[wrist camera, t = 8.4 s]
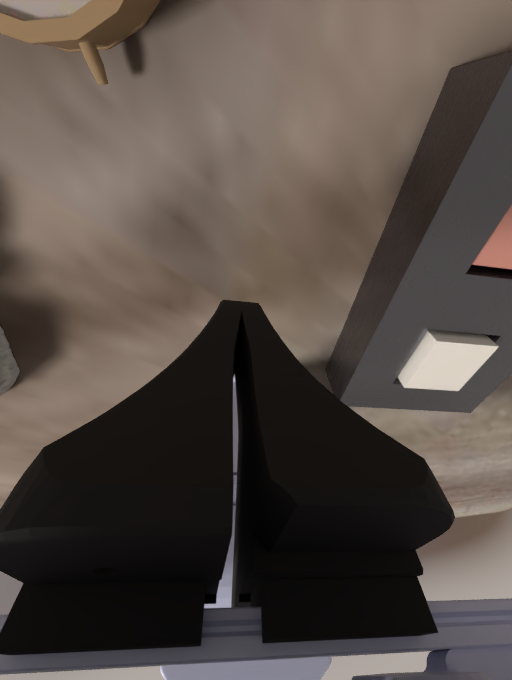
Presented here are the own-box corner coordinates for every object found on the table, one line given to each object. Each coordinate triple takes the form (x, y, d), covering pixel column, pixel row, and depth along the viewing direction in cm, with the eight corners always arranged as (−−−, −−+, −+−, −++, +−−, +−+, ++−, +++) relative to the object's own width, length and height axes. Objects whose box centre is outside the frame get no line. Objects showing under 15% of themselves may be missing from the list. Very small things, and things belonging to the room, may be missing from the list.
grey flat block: (443, 378, 26) (470, 412, 23) (325, 370, 25) (337, 405, 22) (662, 112, 14) (784, 108, 11) (450, 68, 12) (520, 48, 9)
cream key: (436, 363, 22) (458, 391, 20) (386, 359, 22) (404, 387, 20) (468, 320, 20) (499, 346, 17) (413, 314, 19) (437, 341, 17)
